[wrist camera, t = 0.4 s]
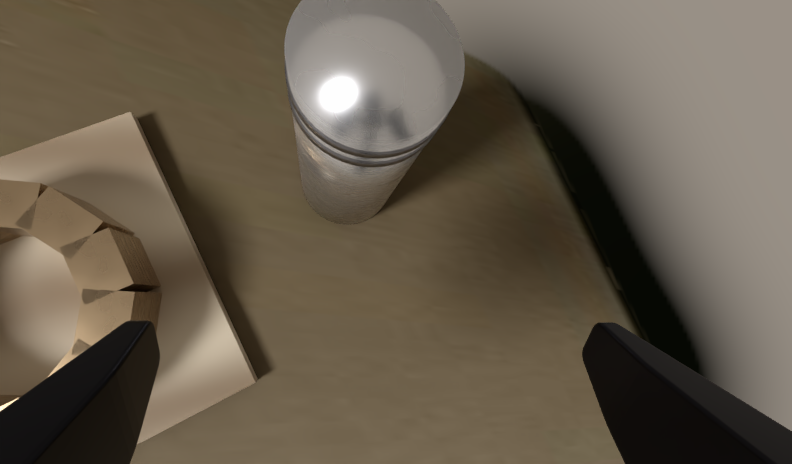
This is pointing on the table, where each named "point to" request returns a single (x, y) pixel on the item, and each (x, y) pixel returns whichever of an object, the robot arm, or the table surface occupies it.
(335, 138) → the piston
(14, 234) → the ring collar
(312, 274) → the table surface
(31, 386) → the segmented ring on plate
